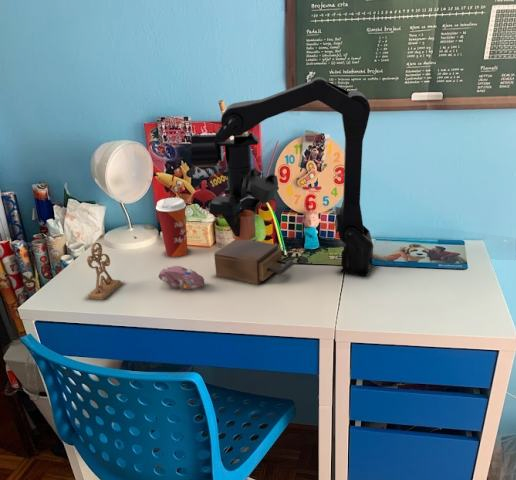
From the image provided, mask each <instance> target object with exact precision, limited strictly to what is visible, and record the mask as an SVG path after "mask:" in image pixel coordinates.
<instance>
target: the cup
mask: <svg viewBox="0 0 516 480" xmlns="http://www.w3.org/2000/svg"><path fill="white" fill-rule="evenodd" d="M255 217H256V214H255V215H254V212H253V211H251V210H245V211H244V212H243V213H242V214H241V218H240V236H239V237H238V236H235V235H234V233H233V232H232V231H231V237H232V239H233V240H235V239H236V240H253V239H254V238H255V237H256V219H255Z"/></svg>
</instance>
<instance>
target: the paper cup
mask: <svg viewBox="0 0 516 480" xmlns="http://www.w3.org/2000/svg"><path fill="white" fill-rule="evenodd" d="M186 206H187V204H186V202H185V201H184V199H183V198H180V197H167V198H162V199H160V200H158V201H157V202H156V205H155V210H157V214H158V219H159V224H160V229H161V234H162V239H163V244H164V249H165V252H166V255H167V256H168V257H172V258H177V257H183V256H185V255H187V254H188V236H187V235H188V232H187V219H186Z"/></svg>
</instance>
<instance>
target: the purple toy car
mask: <svg viewBox="0 0 516 480" xmlns="http://www.w3.org/2000/svg"><path fill="white" fill-rule="evenodd" d="M158 279H159V280H160V281H162V282H163V283H166V284H168V285H169V286H170V287H171V288H174V289H176V288H179V286H180V285H181V287H182V288H183V289H185V290H190V289H191V288H192V286H194V287H203V286H204V285H205V278H204V276H202V275H200V274H199V273H197V271H195V270H193V269H191V268H185V267H183V266H182V265H174V266H170V267H169V266H167V265H165V266H164V268H162V269H161V271H160V272H159V274H158Z"/></svg>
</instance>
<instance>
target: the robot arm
mask: <svg viewBox="0 0 516 480" xmlns="http://www.w3.org/2000/svg"><path fill="white" fill-rule="evenodd" d="M317 101H319V102H321V103H322V104H324V105H326V106H327V107H329V108H330V109H332V110H333V111H335V112H337V113H339V114H341V120H342V127H343V133H344V158H343V159H344V161H343V163H344V164H343V165H344V166H343V192H342V193H343V195H342V196H343V197H342V203H341V206H340V207H339V206H335V207H334V208H335V215H336V217H335V220H334V227H335V228H334V229H335V233H338V239H339V240H340V241H341V242H342V243H343V244H344V245H343V249H342V250H341V260H340V262H341V264H340V266H341V269H340V271H339V272H340V273H343V274H346V275H347V274H348V275H353V276H360V277H367V276H368V275H369V274H370V272H371V271H372V270H373V269H374V268H375V267H376V265H375V264H374V263H373V260H374V259H373V258H374V257H373V256H374V243H373V240H372V236H371V232H370V230H369V229H368V228H367V227H366V226H365V225H364V222H363V215H362V208H361V189H362V188H361V186H362V164H363V145H364V144H363V143H364V137H365V134H366V131H367V127H368V123H369V118H370V115H371V105H370V102H369V101H368V98H367V97H366V95H365V94H364V93H363V92H361V91H359V90H352V91H349V90H347V89H345V88H344V87H341V86H338V85H337V84H335V83H332V82H330V81H328V80H327V79H325V78H324V77H322V76H317V77H314V78H312V80H309V81H306V82H304V83H301V84H299V85H296V86H294V87H291V88H288V89H286V90H283V91H280V92H278V93H275V94H272V95H270V96H267V97H264V98H260V99H254V100H244V101H239V102H233V103H231V104H229V105H228V106H227V107H226V108H225V110H224V111H223V113H222V116H221V120H220V123H221V127H220V128H217V130H216V132H215V134H199V133H197V134H196V133H194V134H192V135H191V136H190V153H189V155H190V162H191V166H192V167H193V168H203V167H205V168H206V167H219V165H220V162H223V161H224V155H225V167H226V168H225V170H223V171H222V176H223V177H226V179H227V188H225V189H224V190H223V191H224V195H219V196H217V197H214V198H213V199H211V200H210V202H209V203H208V211H209V213H210V214H215V215H221V216H222V218H223V219H224V220H225V222H226V224H227V225H228V227H229V229H230V230H231V233H232V232H233V233H234V235H235V236H238V237H239V236H240V218H241V214H242V213H243V212H244V211H245V210H251V211H253V212H254V215H255V216H256V213H257V209H258V206H259V204H260V203H262V204H268V203H269V202H270V201H271V200H274V198H275V195H276V192H278V191H279V189H280V187H279V179H278V176H277V175H276V174H274V173H271V174H268V175H267V176H266V177H265V176H262V177H261V176H259V175H258V170H257V168H256V167H253V164H252V163H253V162H252V146H257V145H258V144H259V142H260V138H259V137H257V136H256V135H255V134H254V132H253V131H250V130H252V129H254V127H256V126H257V125H259V124H260V123H262V122H264V121H265V120H267V119H270V118H272V117H276V116H278V115H282V114H284V113H286V112H289V111H292V110H294V109H297V108H300V107H303V106H305V105H308V104H312V103H313V102H317ZM248 131H249V133H248V134H246V135H243V134H245V133H246V132H248ZM231 137H233V139H230V138H231ZM225 195H227V196H225ZM228 195H229V196H228Z"/></svg>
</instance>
